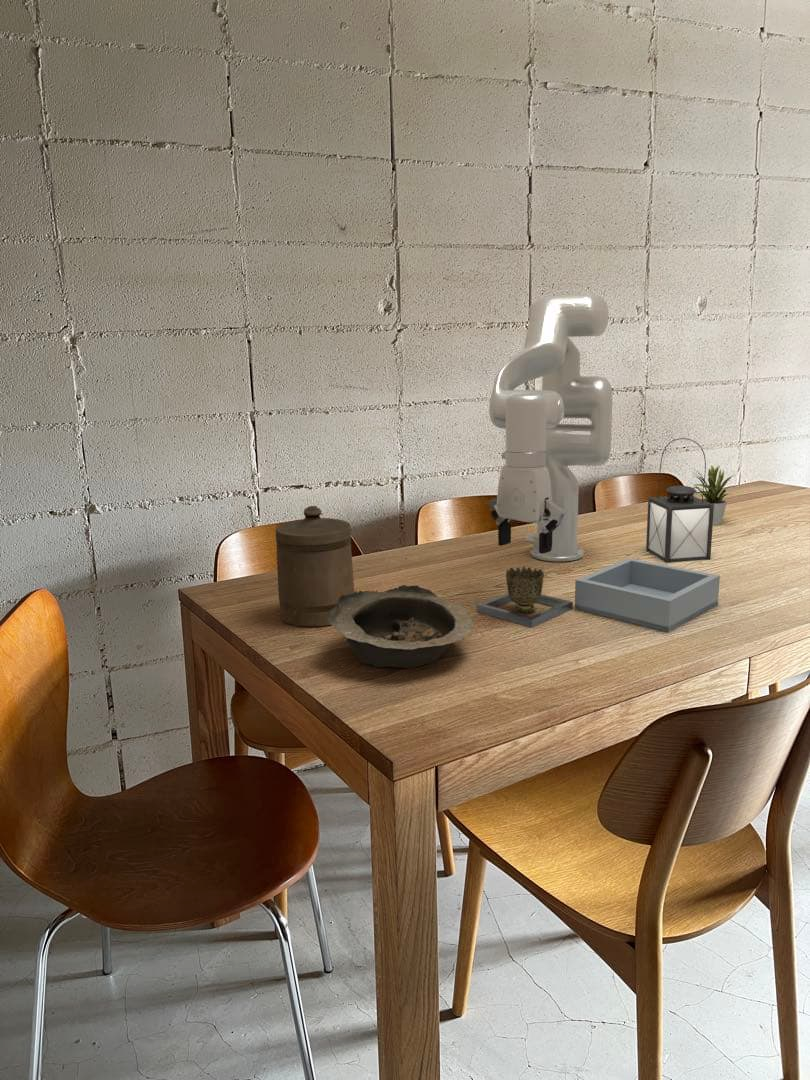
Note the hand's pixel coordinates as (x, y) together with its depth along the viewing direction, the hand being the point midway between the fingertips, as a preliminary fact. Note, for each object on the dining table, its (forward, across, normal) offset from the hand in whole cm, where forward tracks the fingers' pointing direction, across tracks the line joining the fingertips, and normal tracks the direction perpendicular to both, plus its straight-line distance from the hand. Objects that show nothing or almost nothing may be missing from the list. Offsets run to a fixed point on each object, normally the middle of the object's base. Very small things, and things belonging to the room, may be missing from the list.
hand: (524, 548), depth 163 cm
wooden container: (+13, -30, -27) cm, 43 cm away
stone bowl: (+14, -3, -30) cm, 33 cm away
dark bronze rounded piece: (+13, 0, +1) cm, 13 cm away
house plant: (+11, -5, +91) cm, 92 cm away
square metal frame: (+13, 0, +1) cm, 13 cm away
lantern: (+12, +4, +56) cm, 57 cm away
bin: (+13, +17, +18) cm, 27 cm away
